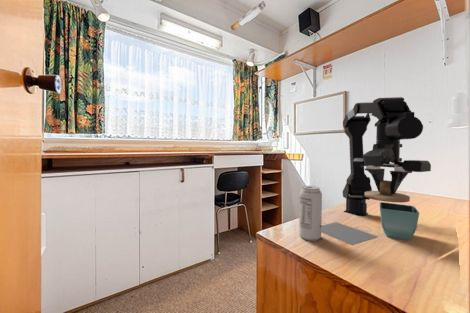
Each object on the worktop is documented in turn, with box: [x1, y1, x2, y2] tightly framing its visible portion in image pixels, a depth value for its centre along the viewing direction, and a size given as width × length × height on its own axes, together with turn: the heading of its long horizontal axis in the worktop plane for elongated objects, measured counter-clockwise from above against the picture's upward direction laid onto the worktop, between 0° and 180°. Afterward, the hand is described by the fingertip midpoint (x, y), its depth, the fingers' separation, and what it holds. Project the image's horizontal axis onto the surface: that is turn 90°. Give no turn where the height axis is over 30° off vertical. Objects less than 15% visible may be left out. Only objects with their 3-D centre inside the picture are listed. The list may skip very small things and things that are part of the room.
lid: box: [365, 180, 411, 203], centre depth 64 cm, size 11×11×5 cm
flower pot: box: [378, 201, 420, 241], centre depth 64 cm, size 9×9×9 cm
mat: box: [321, 221, 379, 246], centre depth 67 cm, size 14×12×1 cm
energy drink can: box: [298, 185, 323, 242], centre depth 63 cm, size 6×6×15 cm
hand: (386, 193), depth 64 cm, fingers closed on lid, 3 cm apart
